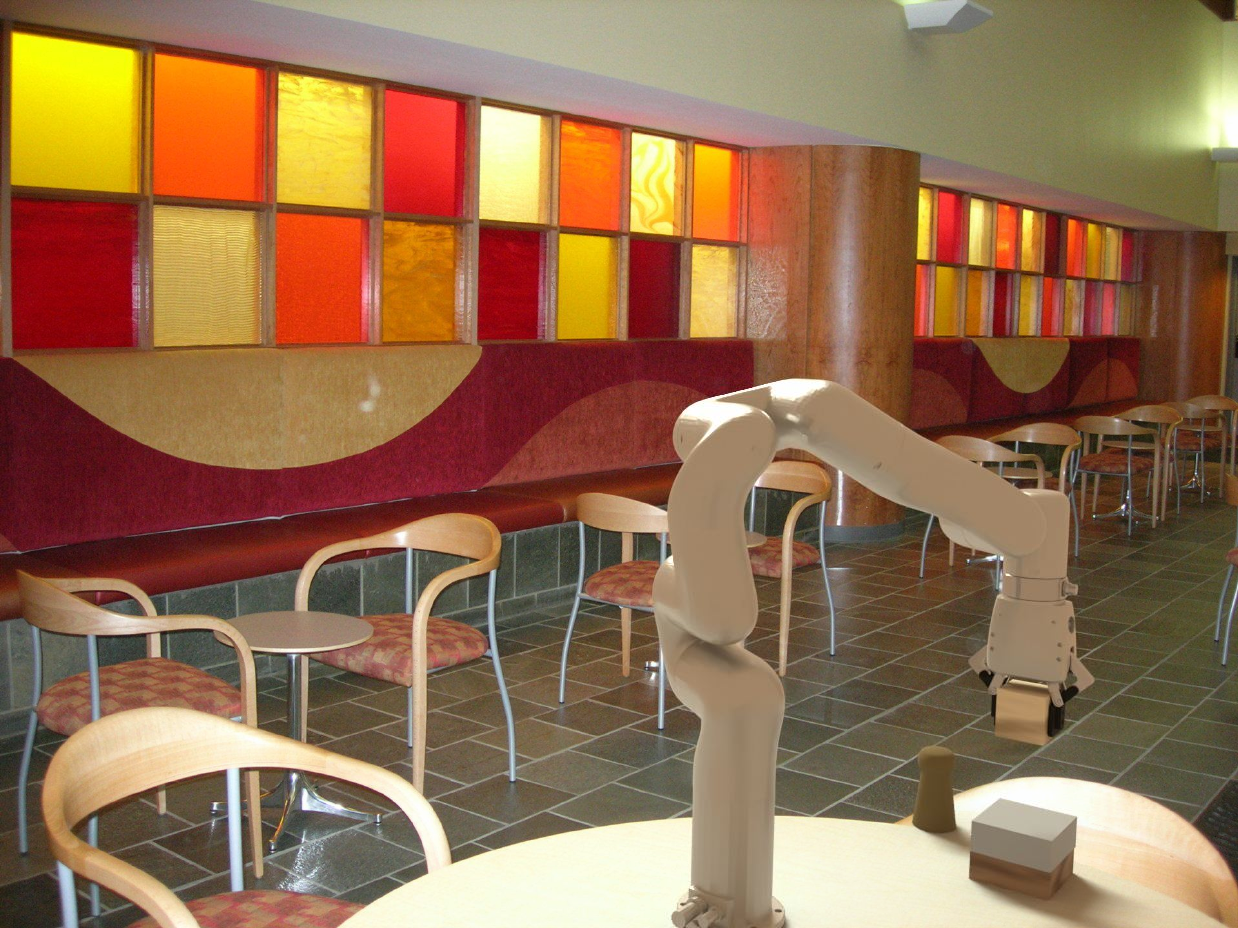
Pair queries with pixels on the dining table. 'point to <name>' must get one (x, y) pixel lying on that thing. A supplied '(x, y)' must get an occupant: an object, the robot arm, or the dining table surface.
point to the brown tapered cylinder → (935, 791)
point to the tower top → (1024, 834)
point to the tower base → (1020, 875)
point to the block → (1023, 712)
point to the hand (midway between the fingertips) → (1026, 727)
